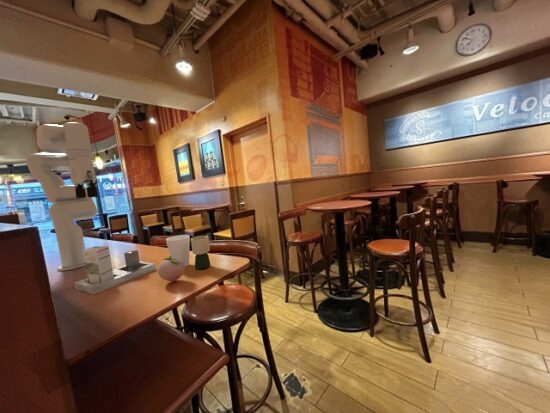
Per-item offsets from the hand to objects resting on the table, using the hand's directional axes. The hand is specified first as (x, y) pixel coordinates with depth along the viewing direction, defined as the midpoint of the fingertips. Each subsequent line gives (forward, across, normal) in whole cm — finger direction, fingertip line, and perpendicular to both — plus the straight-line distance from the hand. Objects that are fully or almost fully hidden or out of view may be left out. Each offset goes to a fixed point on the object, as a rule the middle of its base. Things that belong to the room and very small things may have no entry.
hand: (87, 197), depth 93 cm
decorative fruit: (+33, +39, +6) cm, 52 cm away
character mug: (+33, +39, +21) cm, 55 cm away
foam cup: (+33, +28, +19) cm, 48 cm away
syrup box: (+33, +13, -5) cm, 36 cm away
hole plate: (+33, +13, +1) cm, 36 cm away
